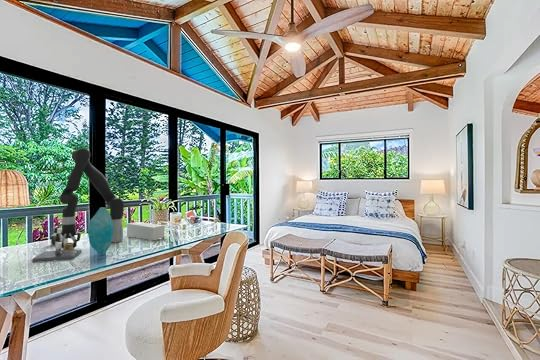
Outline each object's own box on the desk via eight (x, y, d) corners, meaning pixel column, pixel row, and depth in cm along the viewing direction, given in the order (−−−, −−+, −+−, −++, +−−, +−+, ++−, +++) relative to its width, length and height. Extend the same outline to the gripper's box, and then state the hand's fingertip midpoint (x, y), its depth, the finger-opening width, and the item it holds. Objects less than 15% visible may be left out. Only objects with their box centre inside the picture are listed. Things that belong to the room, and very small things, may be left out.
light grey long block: (126, 236, 232) (126, 223, 232) (138, 234, 242) (138, 221, 241) (153, 241, 217) (153, 227, 217) (164, 238, 227) (164, 225, 226)
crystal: (90, 252, 182) (90, 206, 182) (114, 251, 187) (114, 206, 186) (85, 258, 171) (85, 209, 170) (111, 256, 176) (111, 208, 175)
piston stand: (81, 252, 183) (81, 238, 183) (73, 259, 168) (73, 244, 168) (44, 254, 176) (44, 240, 176) (32, 262, 161) (32, 246, 161)
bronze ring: (75, 248, 193) (75, 242, 193) (72, 250, 187) (72, 244, 187) (65, 248, 191) (65, 242, 191) (61, 250, 185) (61, 244, 185)
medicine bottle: (50, 244, 200) (51, 228, 200) (61, 242, 207) (61, 226, 207) (57, 245, 198) (58, 229, 198) (68, 243, 205) (68, 227, 205)
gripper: (82, 221, 195) (82, 245, 195) (58, 222, 190) (58, 247, 190) (79, 223, 188) (79, 248, 188) (53, 224, 183) (53, 250, 183)
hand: (68, 247), depth 189 cm, fingers closed on bronze ring, 6 cm apart
